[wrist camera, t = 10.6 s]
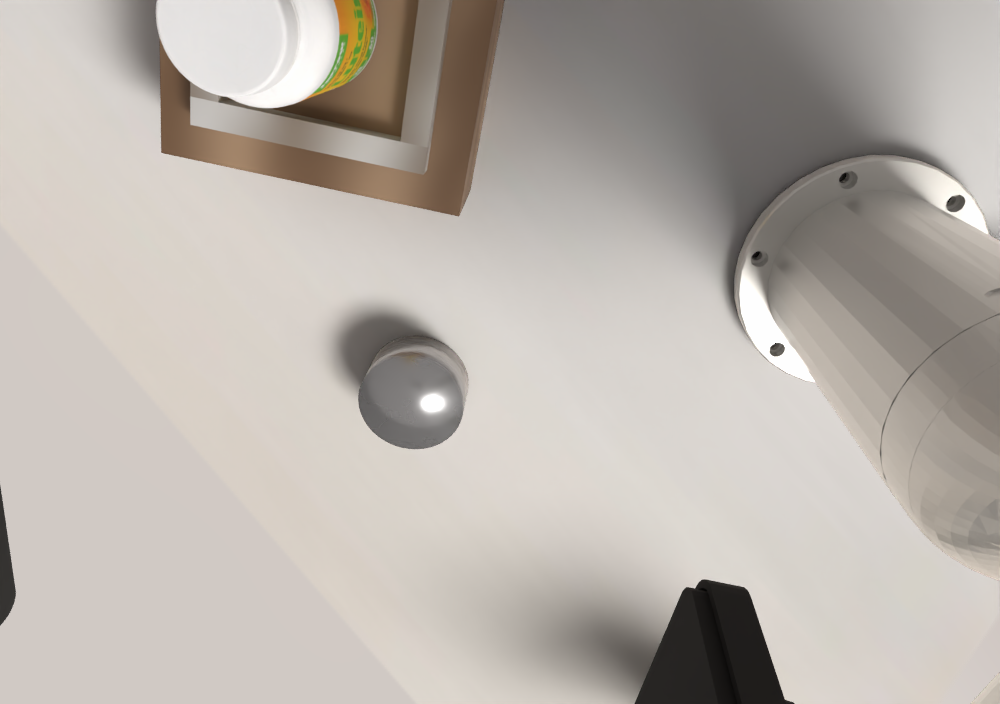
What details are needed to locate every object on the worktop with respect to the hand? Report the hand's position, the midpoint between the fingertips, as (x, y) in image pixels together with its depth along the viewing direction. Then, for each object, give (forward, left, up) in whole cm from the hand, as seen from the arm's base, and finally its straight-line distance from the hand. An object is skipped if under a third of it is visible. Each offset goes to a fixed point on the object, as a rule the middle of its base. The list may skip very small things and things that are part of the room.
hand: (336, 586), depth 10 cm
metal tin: (+2, +14, -30) cm, 34 cm away
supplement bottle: (+8, -5, -26) cm, 27 cm away
